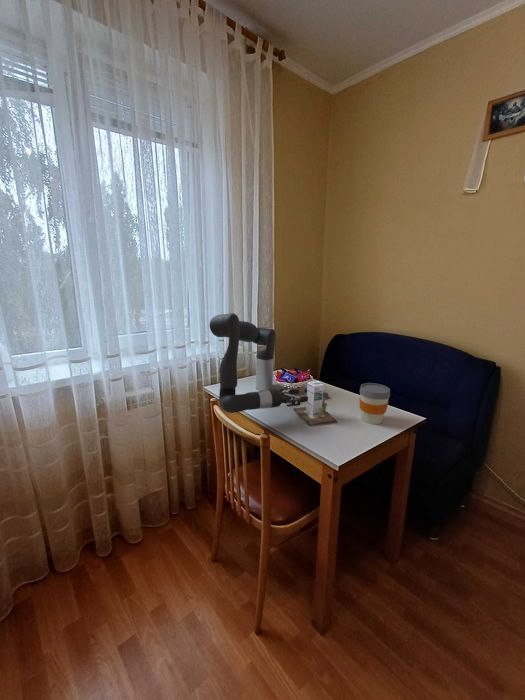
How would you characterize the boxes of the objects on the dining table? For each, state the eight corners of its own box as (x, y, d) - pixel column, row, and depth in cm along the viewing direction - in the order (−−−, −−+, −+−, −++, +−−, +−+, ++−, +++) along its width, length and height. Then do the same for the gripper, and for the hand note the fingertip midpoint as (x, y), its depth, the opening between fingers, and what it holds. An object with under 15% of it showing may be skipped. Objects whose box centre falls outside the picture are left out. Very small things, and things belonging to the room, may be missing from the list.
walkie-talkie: (301, 392, 170) (324, 407, 153) (301, 385, 169) (324, 398, 152) (314, 390, 174) (338, 404, 157) (315, 382, 173) (339, 395, 156)
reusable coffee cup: (350, 416, 143) (354, 385, 139) (369, 411, 149) (373, 381, 145) (372, 428, 132) (377, 395, 129) (392, 422, 139) (397, 390, 135)
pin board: (293, 410, 147) (294, 399, 146) (318, 407, 152) (319, 396, 150) (309, 426, 133) (310, 414, 131) (336, 422, 137) (337, 410, 136)
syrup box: (312, 417, 138) (314, 386, 135) (305, 411, 144) (307, 381, 140) (323, 415, 140) (325, 384, 137) (316, 409, 146) (318, 380, 142)
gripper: (274, 397, 125) (311, 392, 130) (262, 384, 137) (296, 381, 143) (274, 414, 126) (310, 409, 132) (262, 400, 139) (295, 396, 145)
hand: (303, 394), depth 137 cm, fingers open, 8 cm apart
